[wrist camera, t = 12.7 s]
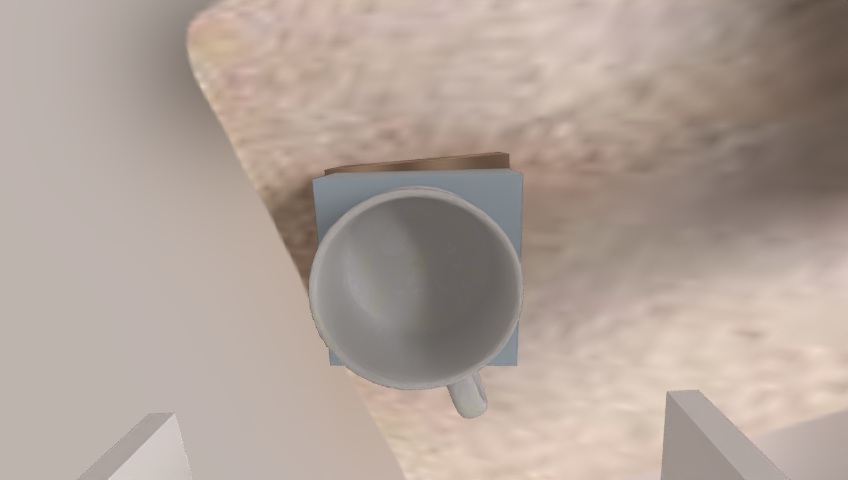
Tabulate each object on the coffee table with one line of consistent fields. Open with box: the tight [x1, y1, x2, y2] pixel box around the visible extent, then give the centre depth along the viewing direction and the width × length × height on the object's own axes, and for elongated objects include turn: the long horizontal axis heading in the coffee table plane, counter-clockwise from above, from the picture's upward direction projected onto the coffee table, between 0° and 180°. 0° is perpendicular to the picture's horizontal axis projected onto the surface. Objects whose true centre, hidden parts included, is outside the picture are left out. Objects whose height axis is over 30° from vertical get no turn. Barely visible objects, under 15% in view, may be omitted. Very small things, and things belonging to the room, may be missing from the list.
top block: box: [312, 168, 523, 366], centre depth 30 cm, size 14×14×6 cm
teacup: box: [309, 186, 523, 419], centre depth 23 cm, size 14×11×8 cm
